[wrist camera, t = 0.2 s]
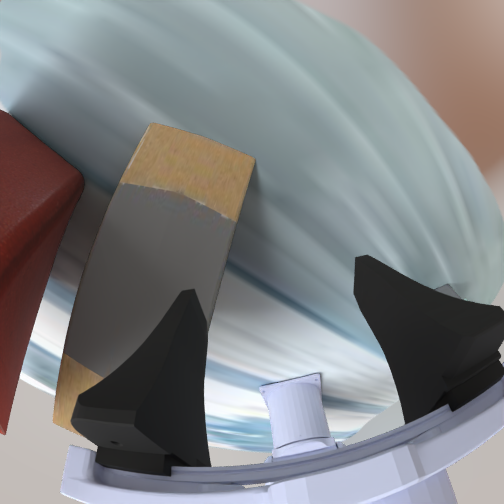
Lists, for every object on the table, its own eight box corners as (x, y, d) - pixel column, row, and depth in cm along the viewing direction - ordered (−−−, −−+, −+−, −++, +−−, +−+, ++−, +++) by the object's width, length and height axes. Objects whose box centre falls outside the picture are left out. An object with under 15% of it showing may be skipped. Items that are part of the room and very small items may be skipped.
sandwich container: (260, 157, 19) (336, 280, 6) (195, 311, 25) (182, 465, 12) (149, 118, 16) (-15, 162, 3) (111, 284, 23) (50, 424, 10)
